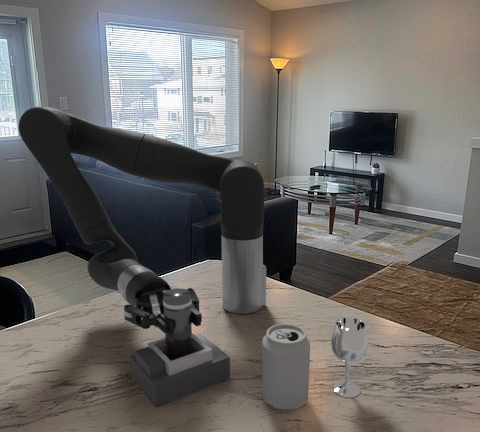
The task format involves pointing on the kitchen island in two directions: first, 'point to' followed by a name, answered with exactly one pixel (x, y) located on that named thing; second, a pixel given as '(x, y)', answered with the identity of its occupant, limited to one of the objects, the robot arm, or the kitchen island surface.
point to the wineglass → (348, 350)
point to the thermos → (178, 322)
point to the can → (285, 366)
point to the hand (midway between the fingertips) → (185, 324)
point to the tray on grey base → (178, 369)
